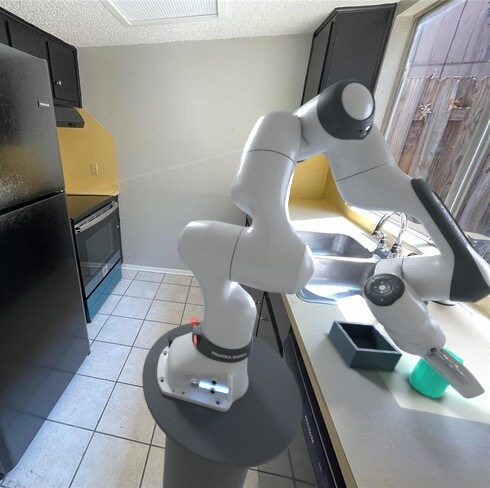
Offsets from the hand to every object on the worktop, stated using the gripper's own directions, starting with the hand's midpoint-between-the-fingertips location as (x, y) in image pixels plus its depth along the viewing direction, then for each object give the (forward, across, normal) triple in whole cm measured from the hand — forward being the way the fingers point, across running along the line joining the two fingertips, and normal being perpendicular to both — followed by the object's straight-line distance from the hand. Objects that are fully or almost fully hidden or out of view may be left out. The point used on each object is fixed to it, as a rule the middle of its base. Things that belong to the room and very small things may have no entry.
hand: (439, 367), depth 60 cm
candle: (+4, 0, +5) cm, 7 cm away
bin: (-3, +10, +12) cm, 16 cm away
